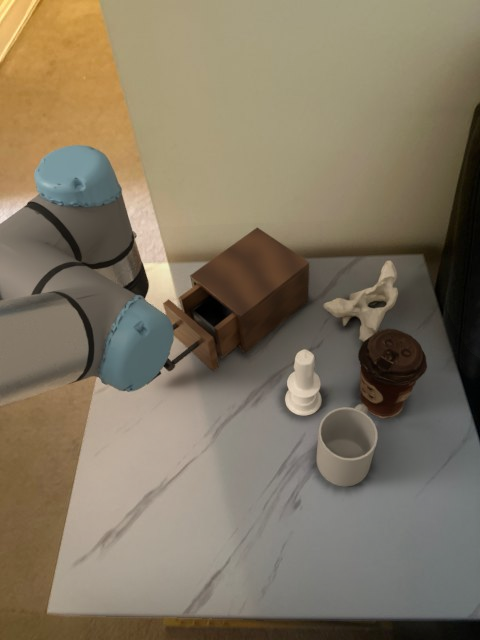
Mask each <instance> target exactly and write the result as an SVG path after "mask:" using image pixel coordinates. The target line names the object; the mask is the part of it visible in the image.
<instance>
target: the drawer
mask: <svg viewBox="0 0 480 640" xmlns="http://www.w3.org/2000/svg"><path fill="white" fill-rule="evenodd" d="M209 295H210V294H209V293H208V292H206V291H205V290H204V289H203V288H201V287H200V286H199V285H198V284H197V285H195V286H194V287H192V286H191V288H189V289H188V290H187V291H185V292H184V293H182V294H181V295H180V296H178V301H179V304H180V307H179V306H178V305H176V304H175V303H174V302H173V301H171V299H167V300H165V301H164V302H163V303H162V306H163V309H164V311H165V315H166V316H167V317H168V318H169V319H170V321H171V323H172V325H173V330H174V337H175V338H176V339H177V340H178V341H179V342H180V343H181V344H183V346H185V348H186V349H185V350H183V351H182V352H181V353H179V354H178V355H177V356H176V357H174V358H173V359H172V360H171V359H170V358H169V357H168V359H167V361H166V363H165V364H164V366H163V368H164V369H165V370H166V371H167V372H172V371H173V370H174V369H175V367H176V365H177V364H178V363H179V362H181V361H182V360H183V359H184V358H185V357H187V356H188V355H190V354H191V353H193V355H194V356H196V357H197V358H198V359H199V360H200V361H201V362H202V363H204V365H206V366H207V368H209V369H210V370H211V371H212V372H214V371H216V370H217V369H218V368H220V365H219V364H220V363H219V359H218V355H219V357H220V358H224V357H226V356H227V355H228V354H229V353H231V352H232V351H233V350H234V349H235V348H236V347H237V346H238V345H239V344H240V343H241V338H240V330H239V322H238V317H237V316H236V315H235V314H234V313H232V314H230V315H229V316H228V317H227V318H225V319H224V320H223V321H221V322H220V323H219V324H218V325H216V326H215V327H214V330H215V335H216V341H217V344H216V343H215V342H214V337H212V336H211V335H210V334H209V333H208V332H207V331H205V330H204V329H203V328H202V327H201V326H200V325H198V324H197V323H196V322H195V321H194V320H193V319H192V318H191V313H190V310H191V309H192V308H193V307H195V306H196V305H197V304H199V303H200V302H201V301H203V300H204V299H205V298H207V297H208V296H209Z"/></svg>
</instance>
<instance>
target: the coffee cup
mask: <svg viewBox="0 0 480 640" xmlns="http://www.w3.org/2000/svg"><path fill="white" fill-rule="evenodd" d="M357 356H358V357H357V358H358V361H359V366H360V367H359V368H360V371H359V372H360V373H359V385H360V386H359V388H360V394H359V395H360V402H361V404H364V405H365V406H366V407H367V408H368V413H370V414H372V415H373V416H375V417H378V418H380V419H387V418H393V417H395V416H397V415H399V414H400V413H401V411H402V410H403V408H404V403H405V402H406V401H407V400H408V398H409V396H410V395H411V393H412V392H413V390H414V387H415V385H416V383H417V381H418V380H419V379H420V378H422V376H423V375H425V373H426V372H427V370H428V363H427V356H426V354H425V352H424V349H423V347H422V345H421V344H420V343H419V341H418V340H417V339H416V338H414V337H413V336H412V335H411V334H408V333H406V332H404V331H401V330H398V329H396V328H384V329H381V330H377V332H376V333H374V334H373V335H372V336H371V337H369V338H368V339H367V340H365V341H364V342H362V344H361V346H360V347H359V350H358V355H357Z"/></svg>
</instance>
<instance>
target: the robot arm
mask: <svg viewBox="0 0 480 640" xmlns="http://www.w3.org/2000/svg"><path fill="white" fill-rule="evenodd" d="M110 161H111V160H110V159H109V157H108V156H107V155H106V154H105V153H104V152H102V151H101V150H99V149H97V148H94V147H92V146H90V145H89V146H88V145H85V144H74V145H73V144H72V145H66V146H63V147H59V148H57V149H54V150H52V151H50V152H49V153H47V154H46V155H44V156H43V157H41V159H40V162H39V164H38V166H36V167H35V170H34V173H33V174H34V175H33V177H34V178H33V179H34V182H35V188H36V192H37V193H38V194H37V195H35V197H33V198H32V199H29V201H28V202H27V203H26V205H24V206H23V207H21V208H20V209H19V210H17V211H16V212H14V213H13V214H12V215H10V216H9V217H7V218H6V219H5V220H4V221H2V222H1V223H0V409H2V408H5V407H8V406H11V405H13V404H16V403H19V402H22V401H25V400H28V399H31V398H33V397H37V396H39V395H42V394H45V393H47V392H50V391H53V390H56V389H59V388H61V387H64V386H68V385H71V384H74V383H76V382H81V381H84V380H86V379H89V378H92V377H96V378H98V379H100V381H101V383H102V384H103V385H105V386H110V387H111V388H114V389H115V390H117V391H120V392H127V393H131V392H135V391H137V390H140V389H142V388H143V387H146V385H149V384H150V383H151V382H153V381H154V380H155V379H156V378H158V377H159V376H160V375H161V374H162V369H163V368H164V367H163V366H164V364H165V363H166V361H167V359H168V358H169V357H170V355H171V351H172V350H171V349H172V346H173V344H174V339H175V338H174V337H175V336H174V330H173V325H172V323H171V321H170V319H169V318H168V317H167V316H166V313H164V312H163V311H161V310H160V309H158V308H157V307H155V305H153V304H152V303H150V302H149V301H147V300H146V298H147V294H148V293H149V288H150V282H149V278H148V274H147V272H146V268H145V265H144V263H143V261H142V257H141V254H140V250H139V247H138V244H137V241H136V239H137V236H138V235H137V233H136V232H135V231H134V230H133V227H132V224H131V220H130V218H129V214H128V210H127V206H126V203H125V199H124V196H123V189H122V187H121V184H120V183H119V181H118V178H117V175H116V172H115V170H114V168H113V165H112V164H111V162H110Z"/></svg>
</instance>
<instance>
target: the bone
mask: <svg viewBox="0 0 480 640" xmlns="http://www.w3.org/2000/svg"><path fill="white" fill-rule="evenodd" d="M381 267H382V268H381V270H380V275H379V278H378V281H377V283H376V284H375V285H374V286H372V287H367V288H364V289H363V290H359V291H357V292H352V293H350V294H349V299H345V298H342V297H336V298H334V299H333V300H331V301H327V302H324V304H323V308H324V309H325V310H326V311H327V312H329V313H330V314H331V315H332V316H333V317H335V318H341V320H342V321H341V322H342V326H343V327H345V326H347V324H348V322H349V321H350V320H351V319H352V318H353V317H357V318H358V319H359V320H360V323H361V325H360V327H359V330H358V333H359V337H358V339H359V340H360V342H362V343H364V341H365V340H367V339H368V338H369V337H371V336H372V335H373V334H374V333H376V332H378V331H379V328H380V325H381V323H382V321H383V319H384V317H385V315H386V312H387V311H390V310H392V308H393V307H395V304H396V301H397V299H398V296H399V290H398V288H397V287H394V284H395V283H396V281H397V279H398V273H397V272H398V271H397V269H396V266H395V264H394V263H393V261H392V260H386V261H385V263H384V264H383V266H381ZM380 302H385V303H386V305H385V306H382V307H374V308H373V307H370V306H374V305H376V304H378V303H380Z"/></svg>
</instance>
